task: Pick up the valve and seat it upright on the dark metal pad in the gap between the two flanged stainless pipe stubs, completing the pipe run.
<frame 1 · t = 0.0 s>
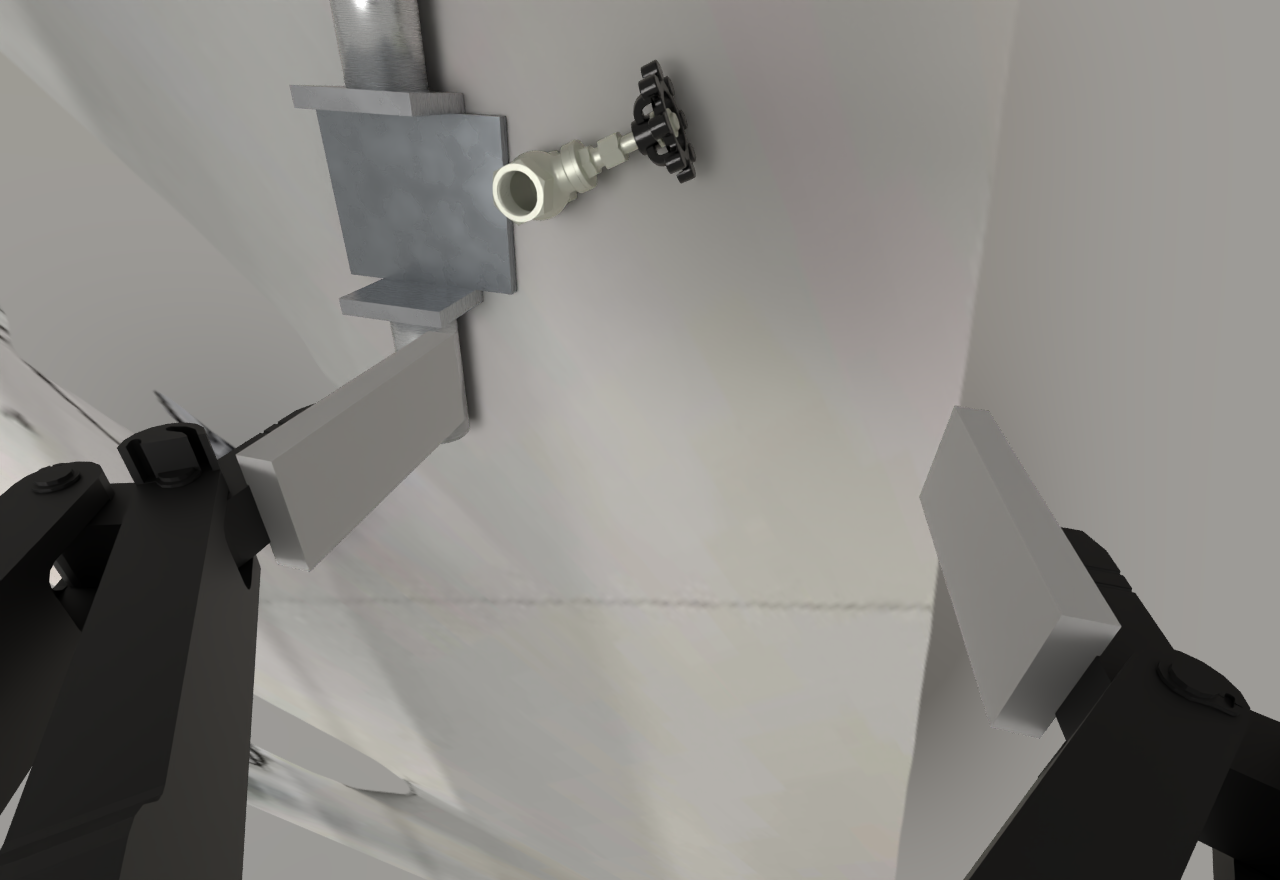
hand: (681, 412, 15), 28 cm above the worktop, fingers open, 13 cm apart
pipe run: (425, 201, 43), on the worktop
valve: (604, 156, 39), on the worktop
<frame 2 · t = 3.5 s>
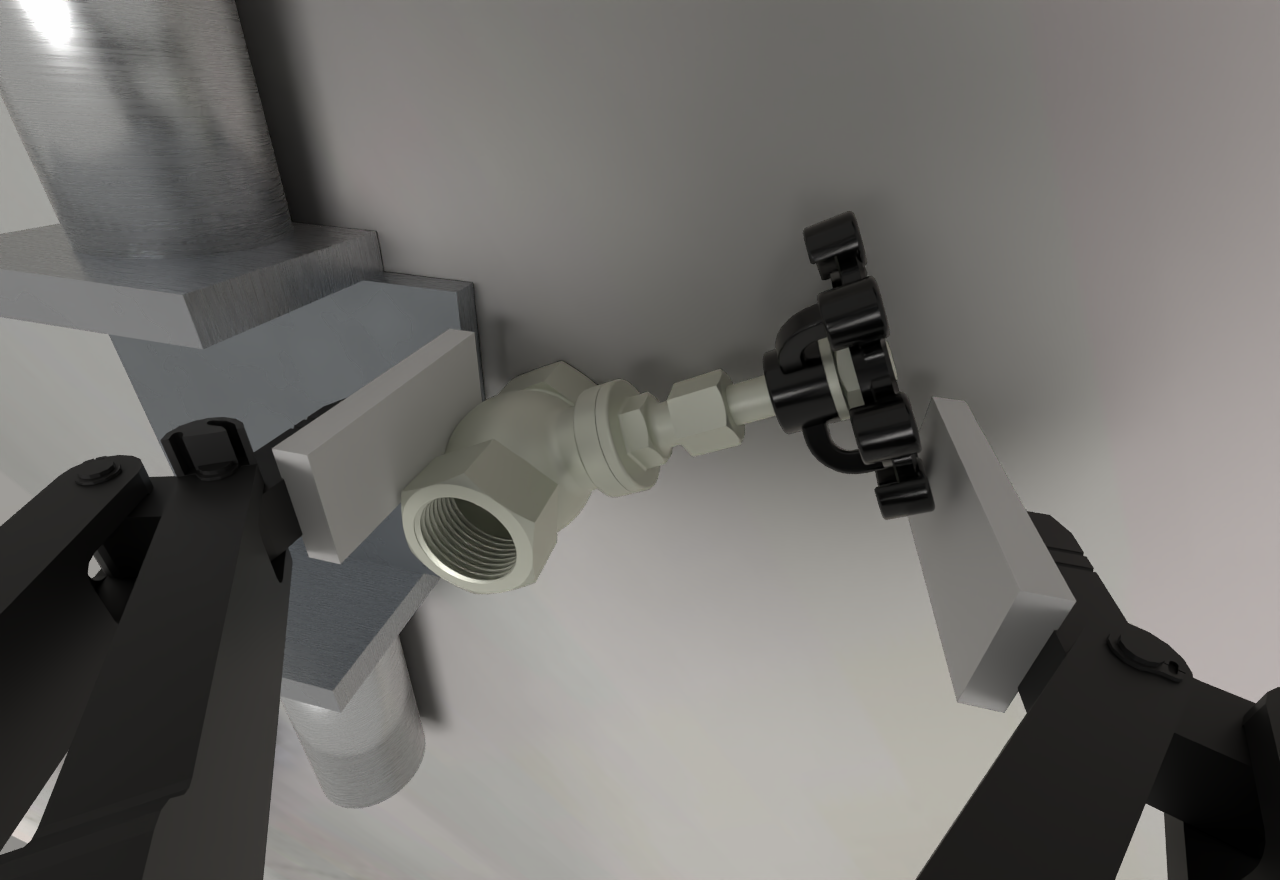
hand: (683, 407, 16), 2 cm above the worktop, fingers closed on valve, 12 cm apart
pipe run: (318, 418, 22), on the worktop
valve: (670, 374, 18), on the worktop, touching gripper
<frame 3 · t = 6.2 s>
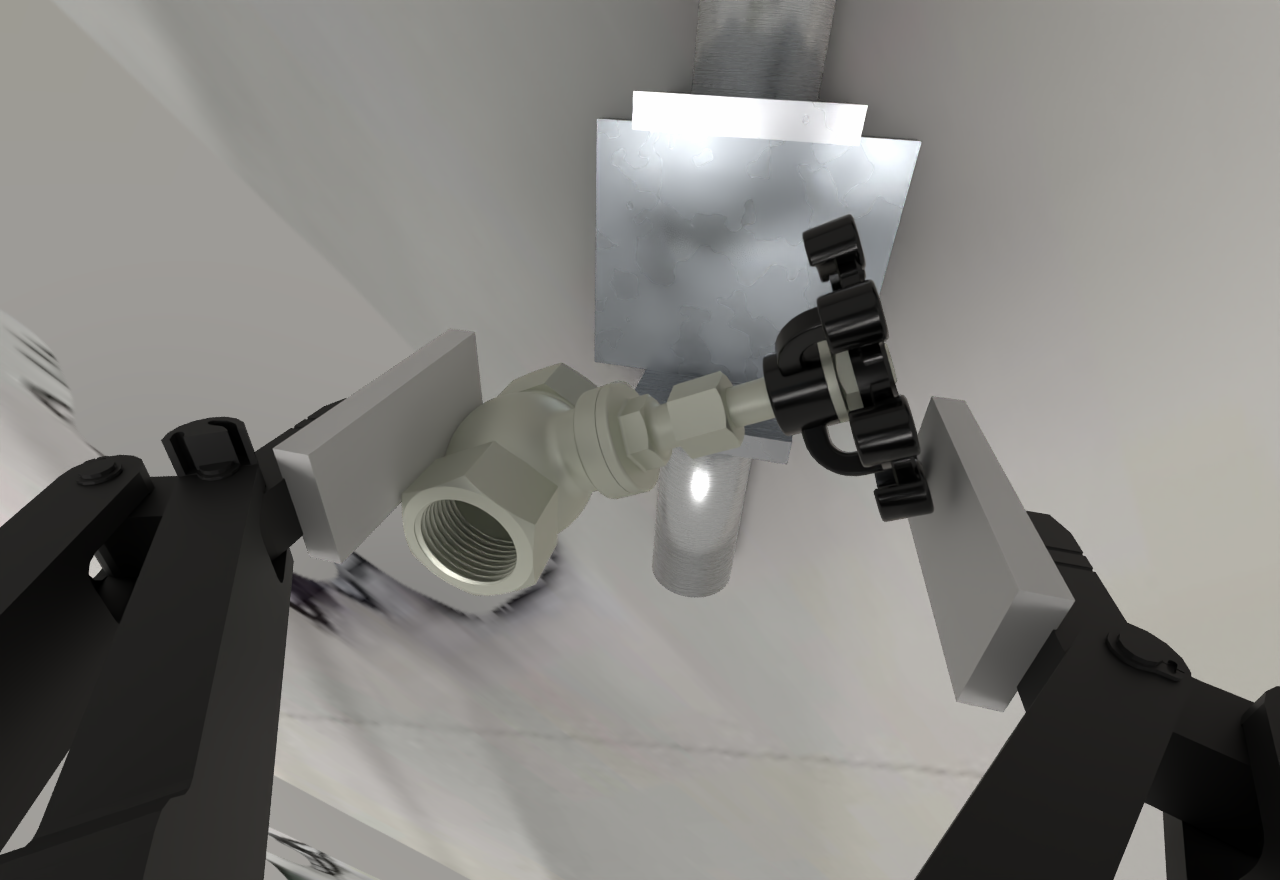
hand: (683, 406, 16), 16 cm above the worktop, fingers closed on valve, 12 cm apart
pipe run: (734, 263, 29), on the worktop
valve: (669, 376, 18), point 14 cm above the worktop, touching gripper
when the fingers open (4 cm above the worktop, at t = 8.9 s): valve drops 1 cm, resting on pipe run.
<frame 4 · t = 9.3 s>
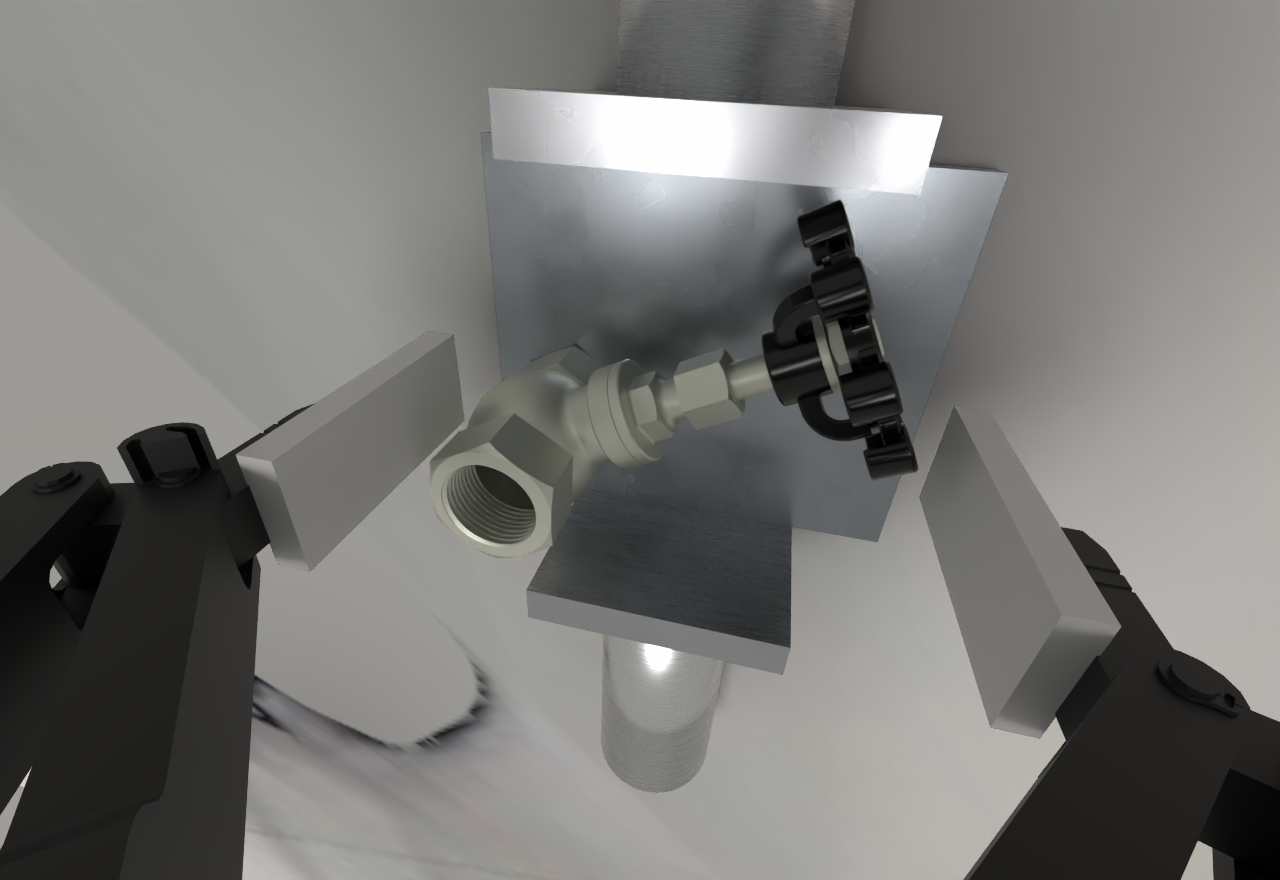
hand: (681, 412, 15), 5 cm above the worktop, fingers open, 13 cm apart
pipe run: (704, 348, 19), on the worktop
valve: (675, 358, 19), point 1 cm above the worktop, touching pipe run
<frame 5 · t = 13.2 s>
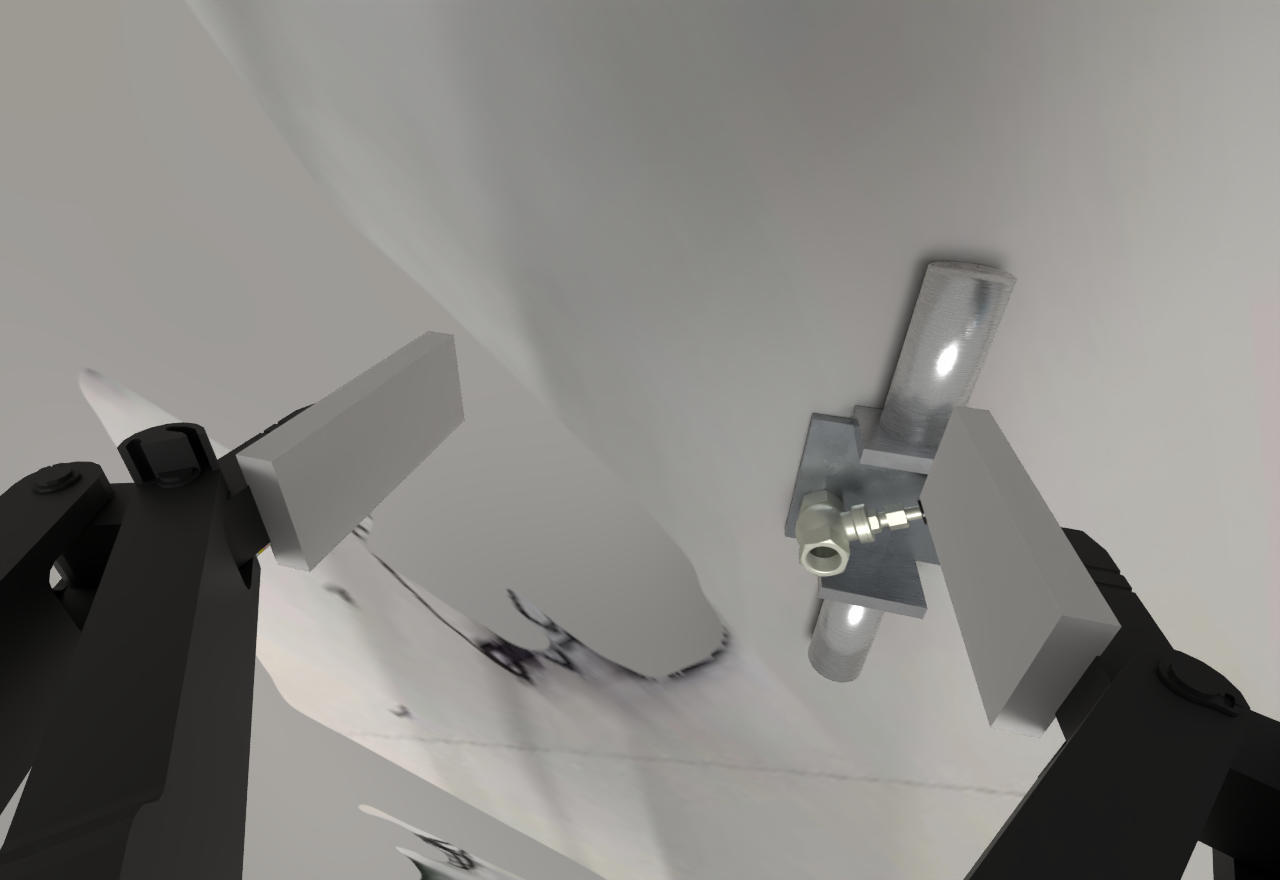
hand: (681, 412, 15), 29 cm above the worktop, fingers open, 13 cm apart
pipe run: (884, 489, 47), on the worktop
valve: (868, 495, 47), point 1 cm above the worktop, touching pipe run
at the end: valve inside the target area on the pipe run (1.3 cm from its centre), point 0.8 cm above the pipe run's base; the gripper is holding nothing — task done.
